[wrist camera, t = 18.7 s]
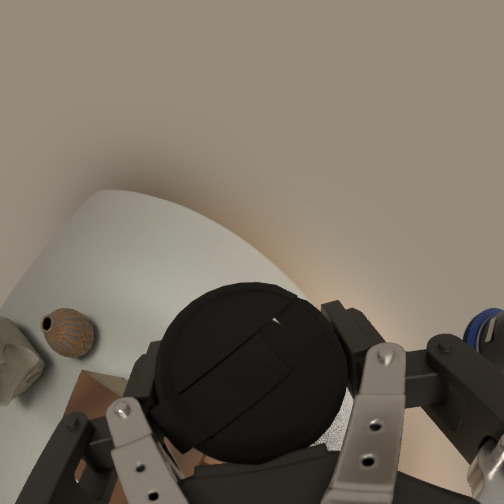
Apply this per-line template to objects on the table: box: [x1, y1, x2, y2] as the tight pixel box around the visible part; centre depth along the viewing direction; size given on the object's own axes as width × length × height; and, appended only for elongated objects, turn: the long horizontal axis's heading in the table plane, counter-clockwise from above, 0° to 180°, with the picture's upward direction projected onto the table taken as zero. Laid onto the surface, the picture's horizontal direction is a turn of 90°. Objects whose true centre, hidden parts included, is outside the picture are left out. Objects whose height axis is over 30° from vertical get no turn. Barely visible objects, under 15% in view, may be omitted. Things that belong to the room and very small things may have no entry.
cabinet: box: [62, 370, 205, 504], centre depth 27 cm, size 16×13×10 cm
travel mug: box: [150, 282, 348, 465], centre depth 17 cm, size 6×7×20 cm
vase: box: [41, 308, 94, 358], centre depth 35 cm, size 7×7×9 cm
